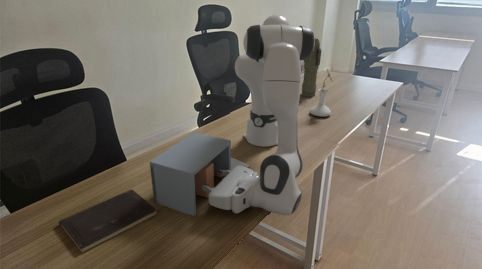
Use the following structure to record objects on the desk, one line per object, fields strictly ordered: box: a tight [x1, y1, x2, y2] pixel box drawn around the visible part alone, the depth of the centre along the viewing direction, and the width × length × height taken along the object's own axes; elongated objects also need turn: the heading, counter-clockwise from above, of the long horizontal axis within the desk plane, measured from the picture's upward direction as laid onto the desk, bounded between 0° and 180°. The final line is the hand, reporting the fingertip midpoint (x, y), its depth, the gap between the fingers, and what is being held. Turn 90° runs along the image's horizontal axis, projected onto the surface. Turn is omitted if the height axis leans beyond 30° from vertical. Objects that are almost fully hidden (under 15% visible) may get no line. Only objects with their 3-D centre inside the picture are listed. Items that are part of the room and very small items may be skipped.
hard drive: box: [231, 156, 251, 170], centre depth 128 cm, size 2×8×12 cm
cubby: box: [149, 131, 232, 217], centre depth 110 cm, size 24×15×15 cm, turn 154°
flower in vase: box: [309, 68, 334, 118], centre depth 175 cm, size 13×11×25 cm
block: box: [194, 162, 215, 199], centre depth 109 cm, size 4×4×11 cm
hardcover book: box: [58, 188, 158, 253], centre depth 98 cm, size 16×23×2 cm
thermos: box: [300, 37, 322, 98], centre depth 203 cm, size 9×12×35 cm
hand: (210, 179), depth 108 cm, fingers open, 8 cm apart
